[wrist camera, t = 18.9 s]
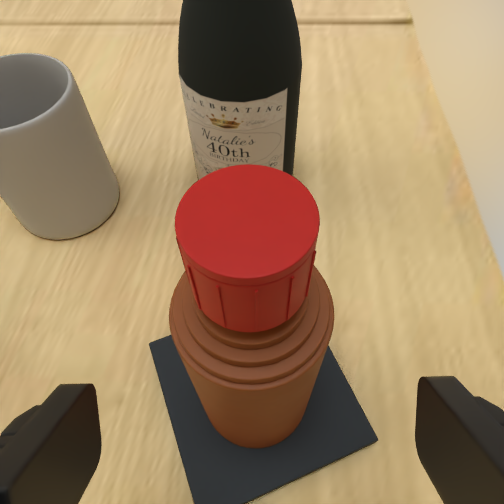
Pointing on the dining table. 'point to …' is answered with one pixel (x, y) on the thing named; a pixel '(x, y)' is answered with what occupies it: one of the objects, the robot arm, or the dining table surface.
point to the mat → (258, 459)
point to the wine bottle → (240, 82)
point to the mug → (51, 150)
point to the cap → (248, 245)
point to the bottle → (253, 365)
